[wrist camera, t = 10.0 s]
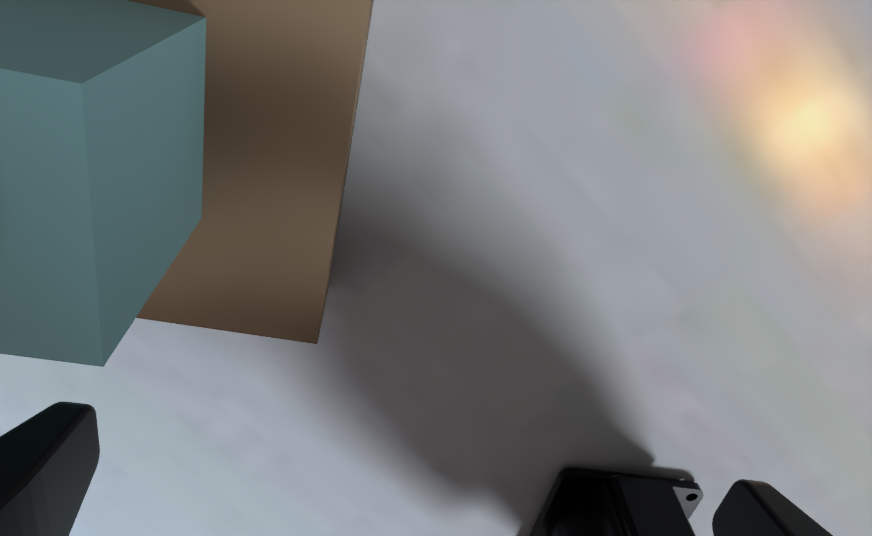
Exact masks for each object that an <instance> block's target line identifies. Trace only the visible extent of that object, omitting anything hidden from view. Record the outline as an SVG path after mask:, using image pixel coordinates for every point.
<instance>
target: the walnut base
mask: <svg viewBox="0 0 872 536" xmlns="http://www.w3.org/2000/svg"><path fill="white" fill-rule="evenodd" d="M127 1H132V2H137V3H141V4H146V5H151V6H155V7H160V8H165V9H169V10H174V11H179V12H184V13H188V14H193V15H198V16H202V17H206V52H205V94H204V137H203V180H202V218H201V220H200V221H199V223H198V224H197V226H196V227H195V229H194V230H193V232H192V233H191V235H190V236H189V238H188V239H187V241H186V242H185V244H184V245H183V247H182V248H181V250H180V251H179V253H178V254H177V256H176V257H175V259H174V260H173V262H172V263H171V265H170V266H169V268H168V270H167V271H166V273H165V274H164V276H163V277H162V279H161V280H160V282H159V283H158V285H157V286H156V288H155V289H154V291H153V292H152V294H151V295H150V297H149V298H148V300H147V301H146V303H145V304H144V306H143V307H142V309H141V310H140V312H139V313H138V315H137V316H136V318H142V319H149V320H156V321H162V322H169V323H176V324H183V325H190V326H197V327H204V328H211V329H218V330H224V331H231V332H238V333H245V334H252V335H259V336H266V337H273V338H279V339H286V340H293V341H300V342H307V343H314V344H317V342H318V337H319V332H320V327H321V322H322V317H323V312H324V307H325V302H326V297H327V292H328V287H329V280H330V274H331V268H332V261H333V255H334V249H335V242H336V236H337V229H338V223H339V217H340V210H341V204H342V198H343V191H344V185H345V179H346V172H347V166H348V160H349V153H350V147H351V140H352V134H353V128H354V121H355V115H356V109H357V102H358V96H359V90H360V83H361V77H362V70H363V64H364V58H365V51H366V45H367V39H368V32H369V26H370V20H371V13H372V7H373V0H127Z"/></svg>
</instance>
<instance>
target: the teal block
mask: <svg viewBox="0 0 872 536" xmlns="http://www.w3.org/2000/svg"><path fill="white" fill-rule="evenodd" d="M205 52H206V17H202V16H198V15H193V14H188V13H184V12H179V11H174V10H169V9H165V8H160V7H155V6H151V5H146V4H141V3H137V2H132V1H127V0H0V354H8V355H16V356H24V357H32V358H39V359H47V360H55V361H63V362H71V363H79V364H86V365H94V366H102V367H103V366H104V365H105V363H106V362H107V360H108V359H109V357H110V356H111V354H112V353H113V351H114V350H115V348H116V347H117V345H118V344H119V342H120V341H121V339H122V338H123V336H124V335H125V333H126V332H127V330H128V329H129V327H130V325H131V324H132V322H133V321H134V319H135V318H136V316H137V315H138V313H139V312H140V310H141V309H142V307H143V306H144V304H145V303H146V301H147V300H148V298H149V297H150V295H151V294H152V292H153V291H154V289H155V288H156V286H157V285H158V283H159V282H160V280H161V279H162V277H163V276H164V274H165V273H166V271H167V270H168V268H169V266H170V265H171V263H172V262H173V260H174V259H175V257H176V256H177V254H178V253H179V251H180V250H181V248H182V247H183V245H184V244H185V242H186V241H187V239H188V238H189V236H190V235H191V233H192V232H193V230H194V229H195V227H196V226H197V224H198V223H199V221H200V220H201V218H202V180H203V137H204V94H205Z"/></svg>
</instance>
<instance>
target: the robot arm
mask: <svg viewBox="0 0 872 536" xmlns="http://www.w3.org/2000/svg"><path fill="white" fill-rule="evenodd" d="M99 454H100V447H99V437H98V428H97V418H96V412H95V409H94V408H93V407H92V406H91V405H89V404H81V403H72V402H58V403H55V404H53V405H51V406H50V407H48V408H46V409H45V410H43V411H41V412H40V413H38V414H36V415H35V416H33V417H31V418H30V419H28V420H27V421H25V422H23V423H22V424H20V425H18V426H17V427H15V428H13V429H12V430H10V431H9V432H7V433H5V434H4V435H2V436H0V536H69V534H70V531H71V529H72V526H73V524H74V521H75V519H76V517H77V514H78V512H79V509H80V507H81V504H82V502H83V499H84V497H85V495H86V492H87V490H88V487H89V485H90V482H91V480H92V477H93V475H94V473H95V470H96V467H97V464H98V460H99ZM702 498H703V492H702V491H701V489H700V487H699V485H698V484H697V483H695V482H689V481H681V480H673V479H664V478H656V477H648V476H640V475H632V474H624V473H615V472H607V471H599V470H591V469H583V468H575V467H570V468H566V469H564V470H562V471H561V472H560V473H559V475H558V477H557V479H556V482H555V484H554V486H553V488H552V490H551V492H550V494H549V497H548V499H547V501H546V503H545V505H544V507H543V509H542V512H541V514H540V516H539V518H538V520H537V522H536V524H535V526H534V529H533V531H532V533H531V535H530V536H696V535H695V533H694V531H693V529H692V527H691V525H690V523H689V520H688V519H689V518H690V516H691V515H692V513H693V512H694V510H695V509H696V507H697V506H698V504H699V503H700V501H701V499H702ZM712 527H713V534H714V536H833V535H831V534H830V533H829V532H828V531H826V530H825V529H824V528H823V527H821V526H820V525H819V524H818V523H817V522H815V521H814V520H813V519H812V518H810V517H809V516H808V515H807V514H805V513H804V512H803V511H802V510H801V509H799V508H798V507H797V506H796V505H794V504H793V503H792V502H791V501H789V500H788V499H787V498H786V497H785V496H783V495H782V494H781V493H780V492H778V491H777V490H776V489H775V488H773V487H772V486H771V485H769V484H768V483H765V482H762V481H753V480H745V479H741V480H738V481H736V482H735V483H734V484H733V485H732V486H731V488H730V490H729V491H728V493H727V494H726V496H725V498H724V499H723V501H722V502H721V504H720V505H719V507H718V509H717V510H716V512H715V514H714V517H713V522H712Z"/></svg>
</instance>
